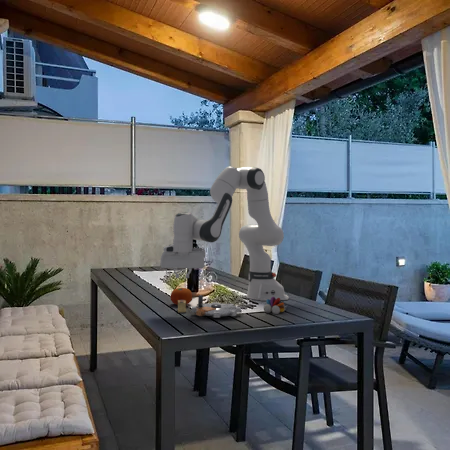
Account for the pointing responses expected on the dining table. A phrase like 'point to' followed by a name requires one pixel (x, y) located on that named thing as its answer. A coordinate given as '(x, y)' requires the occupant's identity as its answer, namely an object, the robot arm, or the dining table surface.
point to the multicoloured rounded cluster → (274, 306)
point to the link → (181, 305)
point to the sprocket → (215, 309)
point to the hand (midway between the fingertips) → (182, 277)
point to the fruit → (181, 295)
